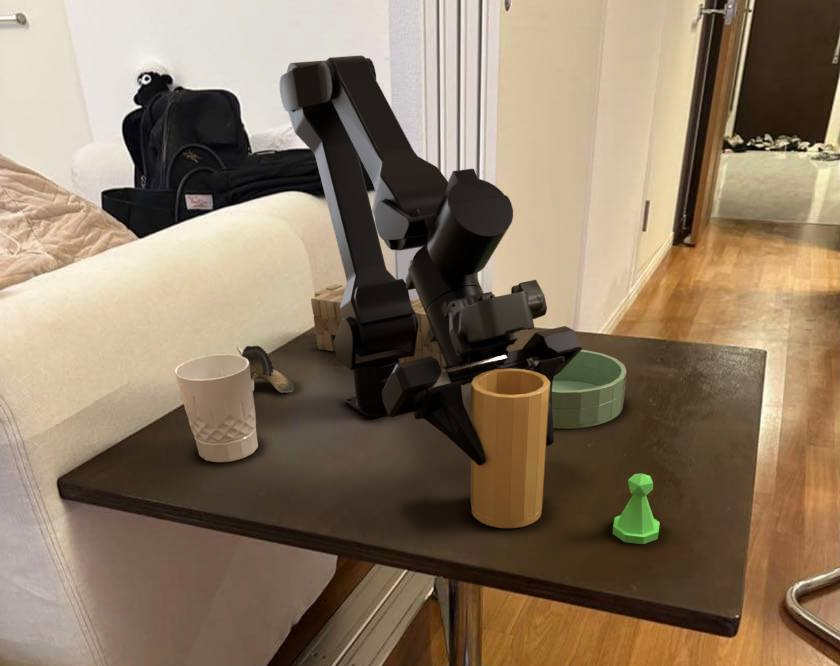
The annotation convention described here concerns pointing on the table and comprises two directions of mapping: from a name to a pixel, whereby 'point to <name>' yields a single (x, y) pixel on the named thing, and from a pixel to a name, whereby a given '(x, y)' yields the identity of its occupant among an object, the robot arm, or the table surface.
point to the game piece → (637, 514)
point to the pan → (588, 391)
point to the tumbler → (509, 446)
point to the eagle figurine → (265, 369)
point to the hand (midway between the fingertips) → (516, 454)
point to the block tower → (330, 319)
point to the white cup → (219, 405)
